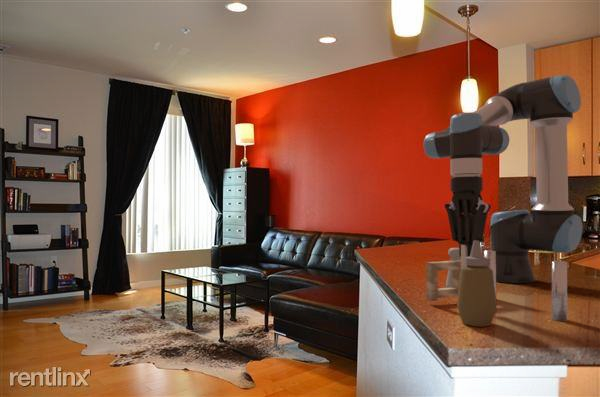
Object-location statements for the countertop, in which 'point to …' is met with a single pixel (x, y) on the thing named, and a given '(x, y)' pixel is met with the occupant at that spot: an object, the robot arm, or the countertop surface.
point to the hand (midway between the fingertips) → (467, 270)
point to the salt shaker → (454, 256)
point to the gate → (432, 279)
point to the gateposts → (557, 285)
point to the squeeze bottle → (476, 290)
